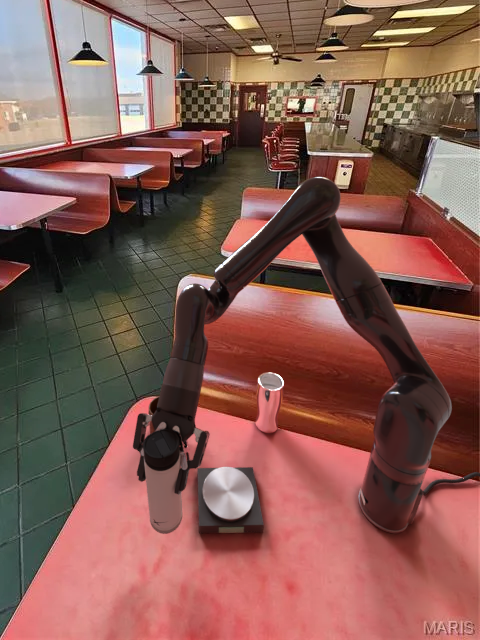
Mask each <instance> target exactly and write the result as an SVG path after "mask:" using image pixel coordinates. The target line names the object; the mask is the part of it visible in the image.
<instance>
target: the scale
mask: <svg viewBox="0 0 480 640" xmlns="http://www.w3.org/2000/svg"><path fill="white" fill-rule="evenodd" d="M217 468H218V467H198V468H196V471H197V507H198V508H197V512H198V513H197V515H198V534H238V533H239V534H240V533H242V534H243V533H264V528H265V527H264V526H265V524H264V519H263V514H262V508H261V503H260V498H259V492H258V487H257V482H256V476H255V471H254V467H252V466H247V467H246V466H245V467H234V468H235V469H238V470H239V471H241V472H242V473H244V474H245V475H246V476H247V478H248V479H249V480H250V482H251V484H252V487H253V490H254V502H253V506H252V509H251V510H250V512H249V513H248V514H247V516H245V517H244V518H242V519H241V520H238V521H234V522H227V521H223V520H220V519H218V518H217V517H215V516H214V515H213V514H212V513H211V512H210V511H209V510H208V508H207V507H206V505H205V502H204V499H203V485H204V481H205V479H206V477H207V476H208V475H209V474H210V473H211V472H212V471H213V470H215V469H217Z"/></svg>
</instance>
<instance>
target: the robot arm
mask: <svg viewBox="0 0 480 640" xmlns="http://www.w3.org/2000/svg"><path fill="white" fill-rule="evenodd" d="M341 196H342V195H341V191H340V188H339V187H338V185H337V184H336V182H334V181H333V180H331V179H329V178H328V177H323V176H315V177H310V178H307V179H305V180H304V181H302V182H300V183H299V185H298V186H297V187H296V188H295V189H294V191H293V192H292V194H291V195H290V196H289V198H288V199H287V200H286V201H285V203H283V205H282V206H281V207H280V208H279V210H278V211H277V212H276V213H275V214H274V215H273V216H272V217H271V218H270V220H268V221H267V222H266V223H265V224H264V225H263V226H262V227H261V228H260V229H259V230H258V231H257V232H255V233H254V234H253V235H252V236H251V237H250V238H249V239H247V240H246V241H245V242H244V243H243V244H242V245H240V246H239V247H238V248H237V249H236V250H235V251H234V252H232V253H231V254H230V255H229V256H228V257H227V258H226V259H225V260H223V261H222V262H221V263H220V264H219V265H218V266H217V267H216V268H215V269H214V271H213V278H214V281H213V283H212V284H211V285H210V286H209V287H208V288H207V287H205V286H204V285H203V284H200V283H189V284H188V285H187V286H185V287H184V288H183V289H182V290H181V292H180V293H179V295H178V296H177V297H178V298H177V301H176V305H175V321H174V330H175V331H174V332H175V333H174V335H175V337H174V341H173V344H172V349H171V353H170V357H169V360H168V363H167V364H166V365H167V366H166V368H165V372H164V375H163V377H162V384H161V388H160V392H159V400H158V404H157V409H156V411H155V413H154V414H153V415H149V414H148V413H145V412H140V413H138V415H137V417H136V423H135V430H134V435H133V436H134V437H133V440H132V441H133V442H132V448H133V449H134V450H136V451H137V452H138V453H139V454H140V458H139V461H138V466H137V469H136V477H138V478H137V481H139V482H144V481H145V482H146V475H145V465H144V451H143V443H144V440H145V438H146V434H147V427H150V426H149V424H150V422H151V421H152V424H153V428H154V431H158V430H160V429H169V430H172V431H174V432H175V433H176V434H177V435H178V437H179V446H180V464H181V468H180V469H179V473H178V477H177V482H176V487H175V492H174V493H175V494H178V495H179V494H180V493H181V491H182V492H184V491H185V490H186V488H187V484H188V478H189V474H190V470H192V469H193V470H195V469H196V470H197V468H200V467H201V465H202V463H203V460H204V456H205V452H206V449H207V446H208V442H209V439H210V434H211V433H210V431H209V430H203V429H201V428H198V427H197V425H196V417H197V413H198V412H197V411H198V407H199V401H200V397H201V392H202V387H203V382H204V376H205V375H204V373H205V365H206V361H207V355H208V350H209V338H208V337H207V335H206V333H205V325H206V326H207V325H211V324H212V323H215V322H216V321H217V320H219V319H220V318H222V316H223V315H224V314H225V313H226V311H227V310H228V309H229V307H230V306H231V305H232V304H233V302H234V301H235V299H236V298H237V296H238V295H239V293H240V292H241V291H243V290H244V288H246V287H247V286H249V285H250V284H251V283H252V282H253V281H254V280H255V279H256V278H258V277H259V276H260V275H261V274H262V273H263V272H264V271H265V270H266V269H267V268H268V267H269V266H270V265H271V264H272V263H273V261H275V259H276V258H277V257H278V256H279V255H280V254H281V253H282V252H283V251H284V250H286V248H288V246H290V244H292V243H293V242H294V241H296V240H297V239H298V238H299V237H300V236H301V235H302V237H303V238H304V240H305V241H306V243H307V244H308V246H309V248H310V249H311V251H312V253H313V255H314V257H315V258H316V261H317V263H318V266H319V268H320V270H321V273H322V276H323V277H324V280H325V282H326V284H327V287H328V288H329V291H330V293H331V295H332V297H333V299H334V301H335V304H336V306H337V308H338V309H339V311H340V314H341V315H342V317H343V319H344V321H345V322H346V323H347V325H348V327H350V328H351V330H353V331H354V332H355V333H356V334H357V335H358V336H360V337H361V338H362V339H363V340H364V341H365V342H367V343H368V344H370V346H372V347H373V349H375V350H376V351H377V352H378V354H379V355H380V357H381V358H382V360H383V362H384V363H385V365H386V367H387V369H388V371H389V373H390V376H391V378H392V382H393V384H392V385H391V386H390V387H389V388H388V389H387V390H386V391H385V392H384V393H383V394H382V395H381V397H380V400H379V402H378V406H377V409H376V414H375V418H374V423H373V429H372V430H373V431H372V432H373V436H374V439H373V443H372V446H371V450H370V454H369V457H368V461H367V465H366V468H365V472H364V476H363V480H362V483H361V486H360V488H359V492H358V495H357V497H358V499H357V500H358V505H359V508H360V510H361V512H362V513H363V514H364V516H365V518H366V519H367V520H368V521H369V522H370V523H371V524H372V525H373V526H375V527H376V528H378V529H379V530H381V531H383V532H386V533H390V534H401V533H403V532H404V531H405V530H406V529H407V528H408V525H413V524H414V521H415V518H416V515H417V512H418V510H419V507H420V505H421V501H422V499H423V497H424V496H426V495H428V494H429V493H430V491H431V490H432V489H433V488H434V487H435V486H437V485H439V484H460V483H464V482H467V481H468V480H471V479H473V478H475V477H479V478H480V472H478V471H474V472H471V473H469V474H467V475H464V476H463V477H459V478H456V479H455V478H454V479H453V478H439V479H436V480H433V481H431V482H430V483H429V484H428V485H427V486H426V488H425V489H422V485H423V482H424V479H425V477H426V474H427V471H428V469H429V466H430V464H431V462H432V461H431V460H432V448H433V445H434V443H435V440H436V438H437V436H438V434H439V432H440V431H441V429H442V428H443V426H444V425H445V424H446V422H447V421H448V420H449V418H450V416H451V414H452V410H453V408H452V407H453V405H452V400H451V398H450V395H449V393H448V391H447V389H446V388H445V387H444V385H443V383H442V382H441V380H440V378H439V376H437V374H436V373H435V372H434V370H433V369H432V367H431V366H430V364H429V363H428V361H427V359H426V358H425V357H424V355H423V354H422V352H421V350H420V349H419V347H418V346H417V345H416V343H415V340H414V339H413V337H412V336H411V334H410V332H409V330H408V328H407V326H406V325H405V324H406V323H404V321H403V319H402V317H401V316H400V313H398V310H397V308H396V307H395V304H394V302H393V300H392V298H391V296H390V294H389V292H388V291H387V289H386V287H385V285H384V283H383V282H382V280H381V278H380V276H379V275H378V274H377V272H376V271H375V269H374V268H373V267H372V266H371V265H370V263H369V261H367V260H366V259H365V258H364V257H363V256H362V255H361V254H360V253H359V251H358V250H357V249H356V248H355V247H354V246H353V245H352V244H351V243H350V241H349V239H348V238H347V236H346V235H345V233H344V231H343V229H342V227H341V224H340V222H339V220H338V217H337V215H336V214H337V212H338V210H339V208H340V205H341V200H342V199H341V198H342V197H341ZM193 435H194V436H195V438H194V439H195V442H196V443H197V445H196V447H195V450H194V454H193V458H192V459H191V456H190V448H189V444H188V440H189V439H190V438H191V437H192V436H193ZM463 478H464V479H463Z"/></svg>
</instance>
